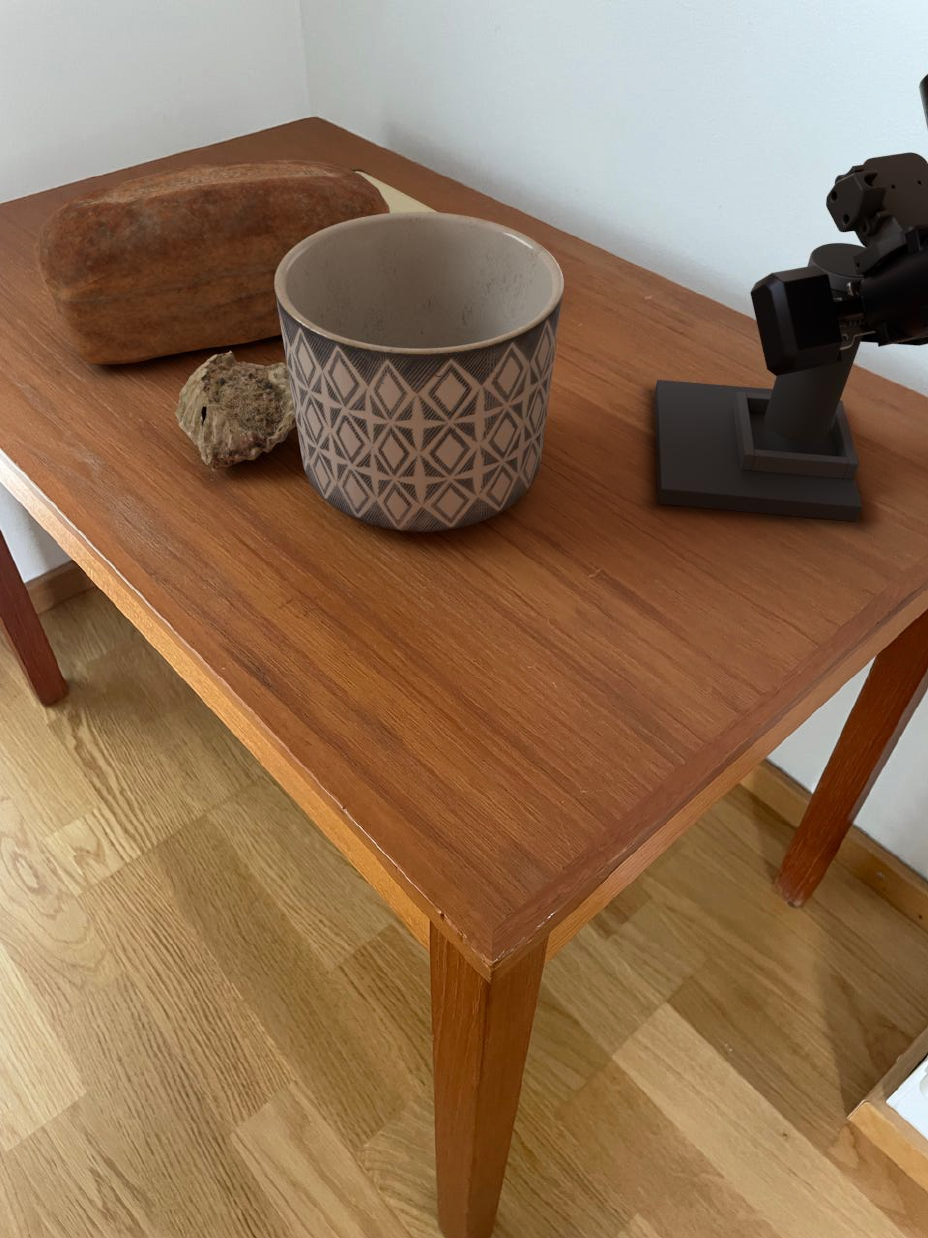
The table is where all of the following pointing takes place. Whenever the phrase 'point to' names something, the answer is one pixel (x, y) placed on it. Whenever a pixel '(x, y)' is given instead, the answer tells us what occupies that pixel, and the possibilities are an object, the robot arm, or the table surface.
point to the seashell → (236, 409)
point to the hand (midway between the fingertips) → (810, 338)
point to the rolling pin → (395, 196)
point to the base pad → (748, 456)
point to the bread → (187, 253)
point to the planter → (420, 365)
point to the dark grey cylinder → (815, 393)
